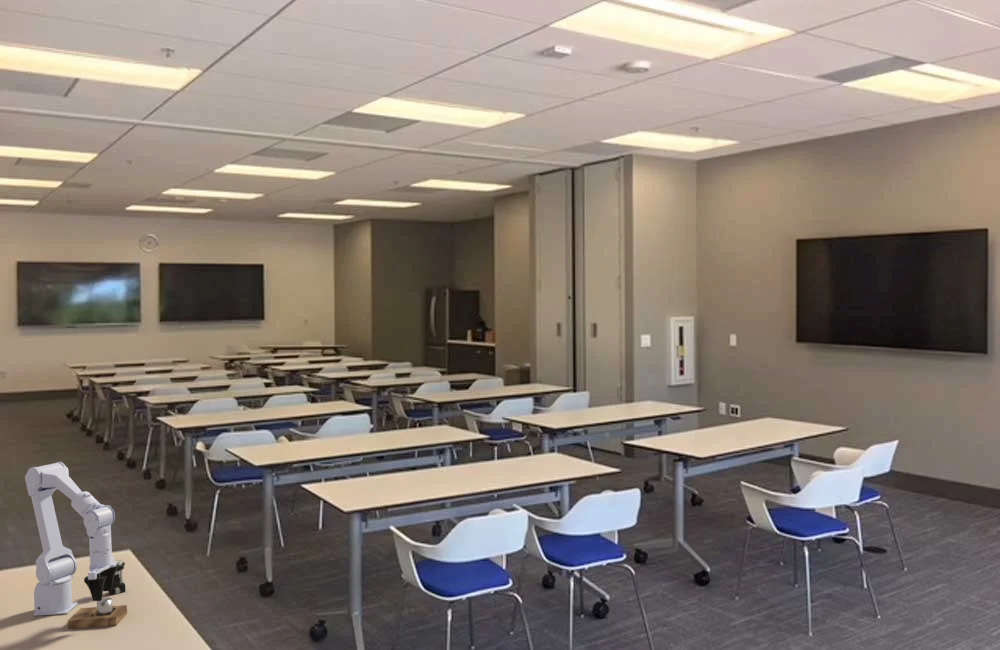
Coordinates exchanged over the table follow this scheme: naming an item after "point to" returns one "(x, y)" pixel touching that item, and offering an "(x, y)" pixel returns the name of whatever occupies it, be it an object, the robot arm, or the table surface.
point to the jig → (96, 617)
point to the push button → (118, 579)
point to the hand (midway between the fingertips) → (102, 595)
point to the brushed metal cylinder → (104, 607)
